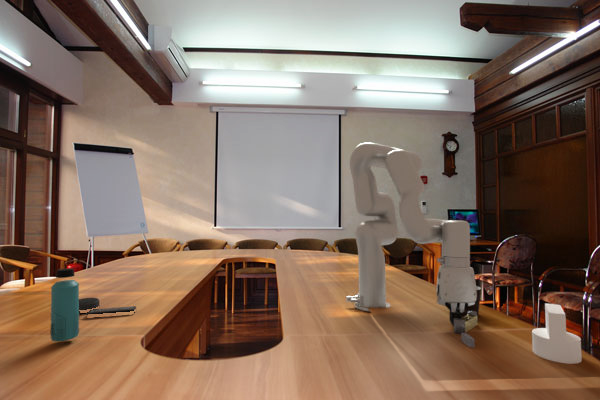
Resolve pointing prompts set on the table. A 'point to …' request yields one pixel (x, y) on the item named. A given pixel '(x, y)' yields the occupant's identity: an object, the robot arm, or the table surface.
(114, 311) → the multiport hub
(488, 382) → the table surface
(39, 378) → the table surface
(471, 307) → the coffee mug
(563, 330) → the cylinder with rectangular tab
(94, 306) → the smart speaker
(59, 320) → the beverage bottle
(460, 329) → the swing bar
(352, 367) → the table surface
